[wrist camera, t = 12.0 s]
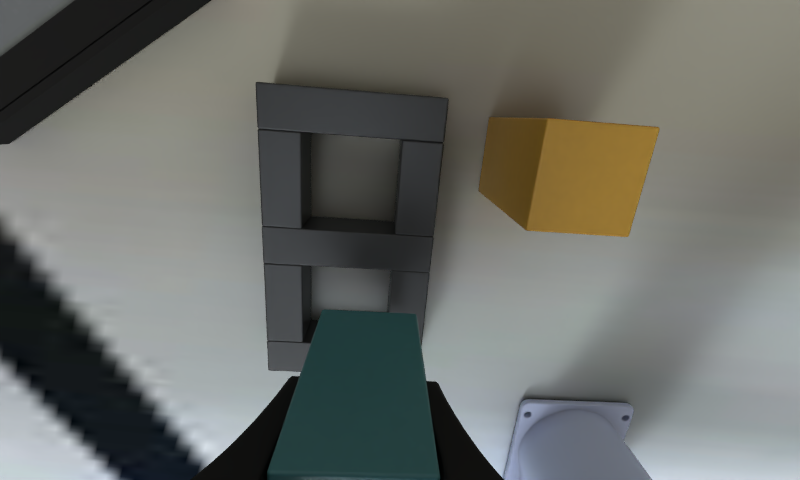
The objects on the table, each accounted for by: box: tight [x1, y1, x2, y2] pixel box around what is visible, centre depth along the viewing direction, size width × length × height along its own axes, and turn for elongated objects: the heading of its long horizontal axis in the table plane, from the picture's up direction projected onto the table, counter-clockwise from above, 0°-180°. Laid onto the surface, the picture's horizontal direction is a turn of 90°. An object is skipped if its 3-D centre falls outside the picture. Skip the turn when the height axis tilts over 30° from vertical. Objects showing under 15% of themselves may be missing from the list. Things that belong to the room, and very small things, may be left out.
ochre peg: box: [479, 117, 659, 237], centre depth 17 cm, size 4×4×8 cm
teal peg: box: [267, 309, 440, 480], centre depth 13 cm, size 4×4×8 cm
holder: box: [256, 82, 449, 372], centre depth 20 cm, size 15×9×2 cm, turn 176°
